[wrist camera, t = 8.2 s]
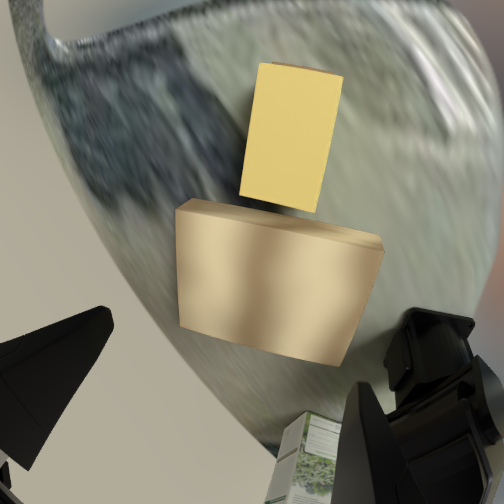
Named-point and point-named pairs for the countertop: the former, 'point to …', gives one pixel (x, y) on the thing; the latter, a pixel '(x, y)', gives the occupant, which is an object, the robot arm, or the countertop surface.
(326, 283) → the cutting board
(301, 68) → the mustard block
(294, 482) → the syrup box
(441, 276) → the countertop surface
